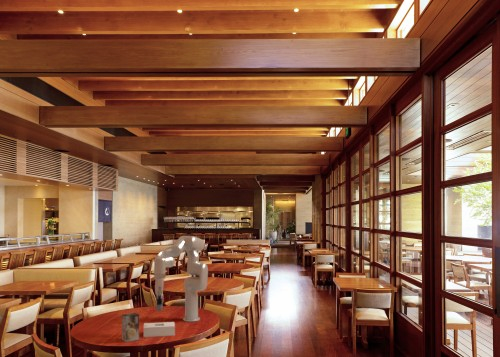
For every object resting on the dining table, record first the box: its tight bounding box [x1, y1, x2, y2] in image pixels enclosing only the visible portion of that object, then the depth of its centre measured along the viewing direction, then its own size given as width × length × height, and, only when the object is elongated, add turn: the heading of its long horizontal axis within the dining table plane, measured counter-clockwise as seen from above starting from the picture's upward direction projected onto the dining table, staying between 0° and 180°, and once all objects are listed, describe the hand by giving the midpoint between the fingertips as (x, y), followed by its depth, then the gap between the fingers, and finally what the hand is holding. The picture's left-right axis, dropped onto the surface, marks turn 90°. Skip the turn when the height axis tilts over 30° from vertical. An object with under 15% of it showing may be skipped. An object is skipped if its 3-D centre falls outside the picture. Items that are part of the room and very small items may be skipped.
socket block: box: [143, 321, 176, 338], centre depth 317 cm, size 12×20×6 cm, turn 101°
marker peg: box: [155, 292, 164, 312], centre depth 318 cm, size 4×4×12 cm
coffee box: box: [121, 312, 140, 343], centre depth 303 cm, size 9×6×16 cm
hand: (159, 303), depth 318 cm, fingers closed on marker peg, 4 cm apart
